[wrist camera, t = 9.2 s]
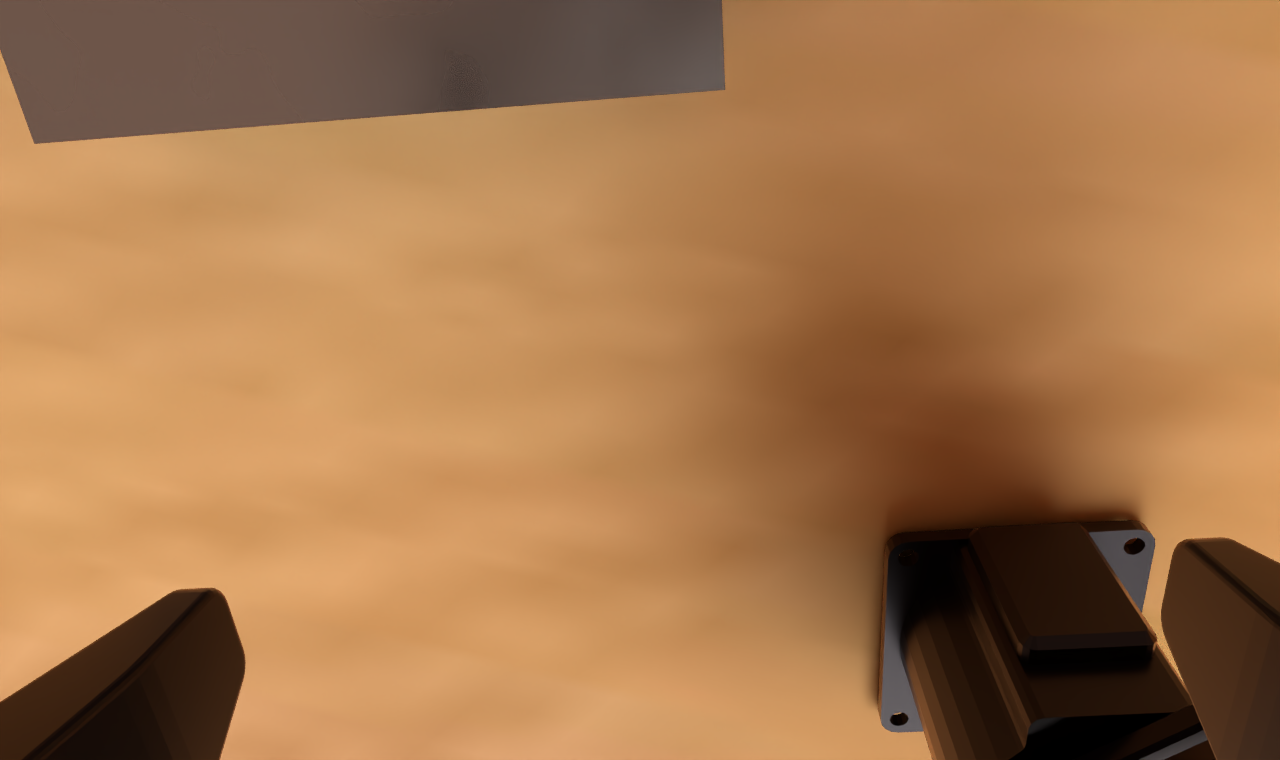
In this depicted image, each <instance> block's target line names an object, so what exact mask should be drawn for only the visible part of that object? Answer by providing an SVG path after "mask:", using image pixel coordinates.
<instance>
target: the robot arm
mask: <svg viewBox="0 0 1280 760" xmlns="http://www.w3.org/2000/svg"><path fill="white" fill-rule="evenodd" d="M1133 538H1137V539H1136V541H1134V542H1133V543H1132V544H1128V545H1125V543H1126V542H1127V541H1129V540H1130V539H1133ZM1154 549H1155V539H1154V537H1153V536H1152V534H1151V533H1150V531H1149V530H1148V529H1147V527H1146V526H1145V525H1144V524H1143V523H1141V522H1139V521H1133V520H1124V521H1105V522H1087V523H1076V522H1071V523H1052V524H1034V525H1015V526H996V527H980V528H975V529H956V530H937V531H918V532H904V533H900V534H897V535H895V536H893V537H892V538H891V539H890V540H889V541H888V542H887V544H886V547H885V557H884V580H883V603H882V626H881V650H880V673H879V696H878V711H879V716H880V719H881V723H882V726H883V727H884V728H885V729H887V730H889V731H891V732H918V731H924V734H925V737H926V740H927V743H928V747H929V750H930V753H931V756H932V759H933V760H1280V563H1278V562H1276V561H1274V560H1272V559H1270V558H1268V557H1266V556H1264V555H1262V554H1260V553H1258V552H1256V551H1254V550H1252V549H1250V548H1248V547H1246V546H1244V545H1242V544H1240V543H1238V542H1236V541H1234V540H1232V539H1229V538H1200V539H1186V540H1183V541H1182V542H1180V543H1179V544H1177V546H1176V548H1175V549H1174V552H1173V555H1172V560H1171V565H1170V569H1169V574H1168V579H1167V584H1166V589H1165V594H1164V599H1163V603H1162V609H1161V622H1162V628H1163V632H1164V635H1165V638H1166V641H1167V643H1168V646H1169V648H1170V650H1171V653H1172V655H1173V658H1174V660H1175V662H1176V665H1177V667H1178V670H1179V672H1180V674H1181V677H1182V679H1183V682H1184V683H1183V682H1182V680H1181V679H1180V677H1179V676H1178V674H1177V673H1176V671H1175V670H1174V668H1173V667H1172V665H1171V663H1170V662H1169V660H1168V659H1167V657H1166V656H1165V654H1164V653H1163V651H1162V650H1161V648H1160V647H1159V645H1158V644H1157V637H1156V634H1155V632H1154V631H1153V629H1152V628H1151V626H1150V625H1149V623H1148V622H1147V620H1146V619H1145V617H1144V616H1143V614H1142V609H1143V604H1144V599H1145V594H1146V589H1147V584H1148V579H1149V574H1150V569H1151V564H1152V559H1153V554H1154ZM906 550H914V552H913V553H912V554H911V555H909V556H905V557H904V556H899V554H901V553H902V552H903V551H906ZM244 674H245V654H244V650H243V647H242V644H241V641H240V638H239V635H238V632H237V629H236V626H235V623H234V620H233V617H232V615H231V612H230V609H229V606H228V603H227V600H226V598H225V596H224V595H223V594H222V592H221V591H219V590H217V589H215V588H197V589H181V590H176V591H173V592H171V593H169V594H168V595H166V596H165V597H163V598H162V599H160V600H158V601H157V602H155V603H154V604H152V605H151V606H149V607H148V608H146V609H144V610H143V611H141V612H140V613H138V614H137V615H135V616H134V617H132V618H130V619H129V620H127V621H126V622H124V623H123V624H121V625H120V626H118V627H116V628H115V629H113V630H112V631H110V632H109V633H107V634H106V635H104V636H102V637H101V638H99V639H98V640H96V641H95V642H93V643H92V644H90V645H88V646H87V647H85V648H84V649H82V650H81V651H79V652H77V653H76V654H74V655H73V656H71V657H70V658H68V659H67V660H65V661H63V662H62V663H60V664H59V665H57V666H56V667H54V668H53V669H51V670H49V671H48V672H46V673H45V674H43V675H42V676H40V677H39V678H37V679H35V680H34V681H32V682H31V683H29V684H28V685H26V686H25V687H23V688H21V689H20V690H18V691H17V692H15V693H14V694H12V695H11V696H9V697H7V698H6V699H4V700H3V701H1V702H0V760H220V757H221V754H222V750H223V747H224V744H225V740H226V737H227V733H228V730H229V727H230V723H231V720H232V716H233V713H234V710H235V706H236V703H237V699H238V696H239V693H240V689H241V686H242V682H243V679H244ZM1184 684H1185V685H1184ZM899 712H901V714H898V715H893V714H895V713H899Z"/></svg>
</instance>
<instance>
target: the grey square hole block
mask: <svg viewBox="0 0 1280 760" xmlns="http://www.w3.org/2000/svg"><path fill="white" fill-rule="evenodd" d="M0 50H1V53H2V56H3V58H4V61H5V64H6V67H7V69H8V72H9V75H10V78H11V80H12V83H13V86H14V89H15V91H16V94H17V97H18V100H19V102H20V105H21V108H22V111H23V113H24V116H25V119H26V122H27V124H28V127H29V130H30V133H31V135H32V138H33V141H34V144H37V143H50V142H63V141H76V140H88V139H101V138H114V137H127V136H140V135H152V134H165V133H178V132H191V131H204V130H216V129H229V128H242V127H255V126H268V125H280V124H293V123H306V122H319V121H332V120H344V119H357V118H370V117H383V116H396V115H408V114H421V113H434V112H447V111H460V110H472V109H485V108H498V107H511V106H524V105H536V104H549V103H562V102H575V101H588V100H600V99H613V98H626V97H639V96H652V95H664V94H677V93H690V92H703V91H716V90H725V74H724V48H723V22H722V0H0Z"/></svg>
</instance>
